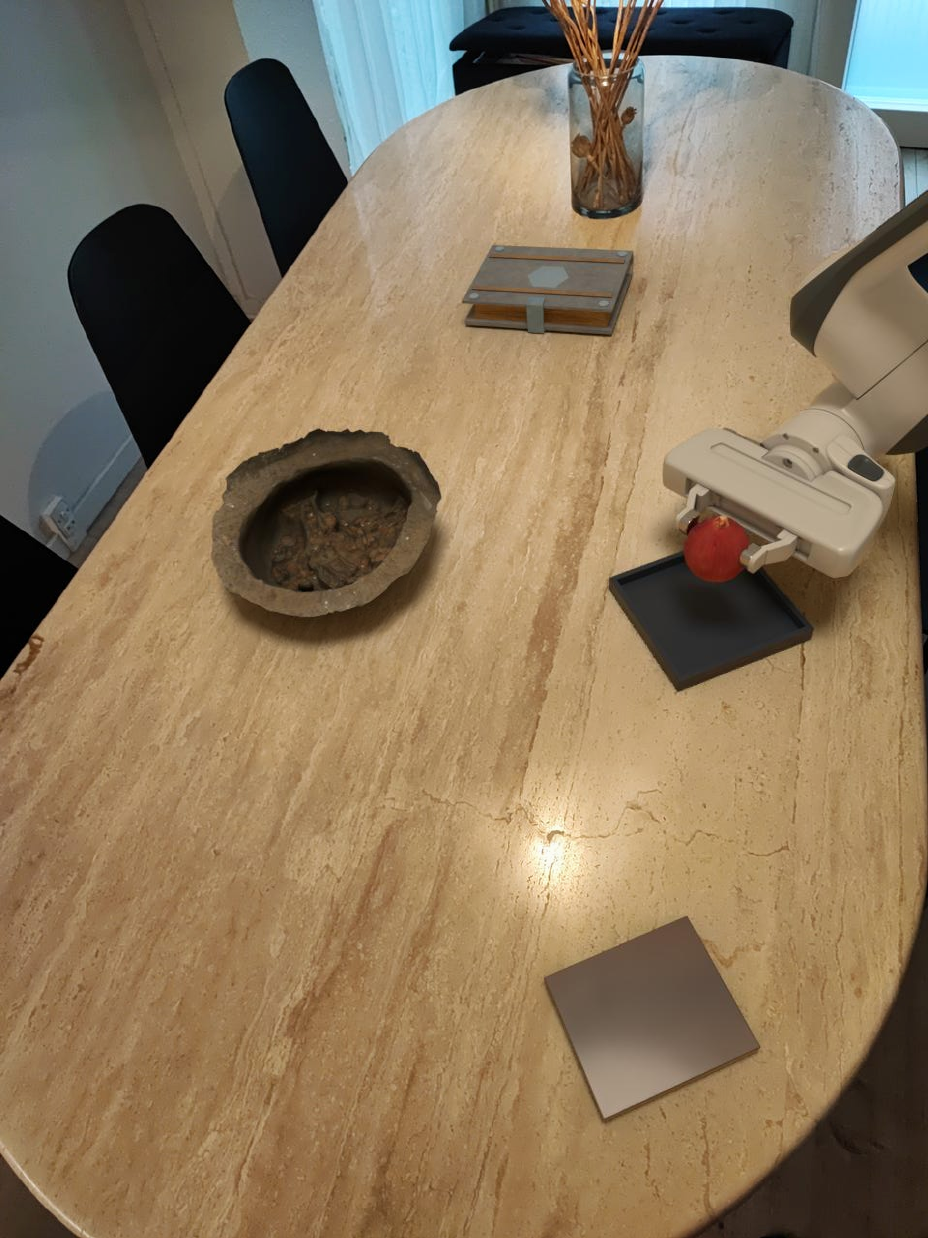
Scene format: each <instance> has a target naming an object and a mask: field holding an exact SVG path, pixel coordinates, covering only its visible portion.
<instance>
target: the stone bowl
mask: <svg viewBox="0 0 928 1238" xmlns="http://www.w3.org/2000/svg"><path fill="white" fill-rule="evenodd" d="M422 457H423V456H421V454H420V452H418V451H416V450H412V449H409V448H408V447H405V446H396V445H395V444H393V443H392V442H391V439H390V435H388V434H387V435H386V434H385V433H384V431H372V430H371V431H367V432H366V431H364V430H362V429H357V430H354V431H351V430H350V429H349V428H345V429H343V430H342V431H339V430H338V431H336V430H327V431H326V430H323V429H321V428H316V429H314V430H313V429H312V430H311V431H308V433H307V434H306V435H305V436H304V437H303V436H301V437H299V438H297V439H296V440H294V441H292V442H289V443H288V442H287V443H283V444H282V446H281V447H275V448H272V449H269V450H266V451H259V452H258V453H257V455H253V456H250V457H249V458H247V459H245V460H243V461H242V462H240V464H238V465H237V466H236V467H235V468H234V470H233V471H231V472H230V473H229V474H227V476H225V481H226V489H225V490H224V491H223V493H222V494H221V498H222V501H223V503H222V505H221V506H220V507H219V509H218V510H216V511H214V513H213V515H212V519H211V521H212V522H211V523H212V527H211V538H212V546H211V553H210V558H211V560H212V565H213V568H215V569H216V573H217V576H218V577H219V578H220V580H221V581H222V586H224V588H225V589H226V591H228V592H230V593H233V594H235V595H239V596H240V598H243V599H245V600H247V601H248V602H250V603H252V604H255V605H258V606H260V607H261V608H263V609H265V610H266V611H269V612H275V613H276V612H277V613H279V614H283V615H287V616H291V617H292V616H293V617H299V618H311V617H312V618H313V617H318V616H324V615H328V613H330V614H332V613H335V612H343V611H346V610H349V609H353V608H356V607H363V606H365V605H366V604H368V603H370V602H372V601H373V600H374V599H376V598H377V597H379V595H381V594H382V593H384V592H385V591H386V590H387V589H388V588H389V586H390V585H391V584H392V583H393V582H395V581H396V580H397V579H399V578H400V577H402V576H404V575H407V574H409V573H410V572H411V570H412V569H413V567H414V566H415V564H416V563H417V561H418V559H419V558H420V555H421V554H422V553H423V550H424V548H425V546H426V545H427V543H428V541H429V538H430V537H431V534H432V529H431V528H432V527H433V524H434V521H435V518H436V514H437V513H438V510H437V507H438V505H439V502H440V501H441V500H442V494H441V490H440V485H439V482H438V481H437V480H436V478H435V477H434V475H433V473H431V470H430V468H429V467H428V465H427V463H426V461H425V460H424V459H423V458H422Z"/></svg>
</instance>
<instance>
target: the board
mask: <svg viewBox="0 0 928 1238" xmlns="http://www.w3.org/2000/svg"><path fill="white" fill-rule="evenodd" d="M700 937H701V936H700V935H699V934H698V932H697V930H696V928H695V926H694V924H693V923H692V921H691V919H690V918H689V916H688V915H685V916H683V917H680V918H677V919H676V920H673V921H671V922H669V923H666V924H664V925H661V926H659V927H657V928H655V929H653V930H651V931H650V930H649V931H648V932H646V933H643V934H641V935H638V936H637V937H634V938H631V939H629V940H627V941H625V942H623V943H620V944H618V945H615V946H613V947H610V948H609V949H607V950H604V951H602V952H600V953H597V954H595V955H592V956H591V957H588V958H586V959H583V960H581V961H579V962H577V963H574V964H572V965H569V966H568V967H565V968H563V969H560V970H558V971H556V972H554V973H551V974H549V975H547V976H544V977H543V981H544V985H545V987H546V989H547V992H548V994H549V996H550V997H549V998H550V999H551V1002H552V1004H553V1006H554V1009H555V1011H556V1014H557V1017H558V1018H559V1021H560V1023H561V1025H562V1029H563V1030H564V1032H565V1035H566V1037H567V1040H568V1042H569V1045H570V1047H571V1049H572V1052H573V1054H574V1056H575V1059H576V1061H577V1063H578V1065H579V1066H578V1067H579V1068H580V1071H581V1073H582V1076H583V1078H584V1080H585V1083H586V1085H587V1087H588V1089H589V1092H590V1094H591V1097H592V1099H593V1101H594V1103H595V1106H596V1110H597V1111H598V1113H599V1116H600V1118H601V1120H602V1122H603V1124H605V1123H607V1122H609V1121H611V1120H614V1119H616V1118H618V1117H620V1116H623V1115H625V1114H627V1113H629V1112H631V1111H633V1110H635V1109H638V1108H640V1107H641V1106H644V1105H646V1104H649V1103H650V1102H652V1101H654V1100H657V1099H659V1098H661V1097H663V1096H665V1095H667V1094H671V1092H674V1091H677V1090H678V1089H680V1088H683V1087H685V1086H687V1085H690V1084H691V1083H693V1082H695V1081H697V1080H700V1079H702V1078H704V1077H706V1076H709V1075H711V1074H713V1073H715V1072H717V1071H719V1070H722V1069H724V1068H726V1067H728V1066H730V1065H732V1064H734V1063H736V1062H739V1061H741V1060H743V1059H745V1058H747V1057H750V1056H752V1055H754V1054H756V1053H758V1052H759V1051H760V1049H761V1044H760V1043H759V1042H758V1040H757V1038H756V1036H755V1034H754V1033H753V1030H752V1029H751V1027H750V1025H749V1024H748V1022H747V1019H746V1018H745V1017H744V1015H743V1013H742V1011H741V1009H740V1007H739V1006H738V1003H737V1002H736V1001H735V999H734V996H733V994H732V993H731V991H730V989H729V987H728V986H727V984H726V983H725V981H724V979H723V977H722V975H721V973H720V972H719V969H718V967H717V966H716V964H715V961H713V959H712V957H711V956H710V953H709V952H708V950H707V948H706V946H705V944H704V943H703V941H702V939H701V938H700Z"/></svg>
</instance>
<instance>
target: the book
mask: <svg viewBox="0 0 928 1238" xmlns="http://www.w3.org/2000/svg"><path fill="white" fill-rule="evenodd" d="M634 253H635V252H634V250H625V249H624V250H622V249H602V248H601V249H600V248H599V249H598V248H575V247H553V246H552V247H551V246H550V247H549V246H548V247H547V246H529V245H528V246H527V245H526V246H525V245H505V244H503V245H501V244H492V245H491V247H490V249H489V251H488V252H487V254H486V256H485V258H484V259H483V262H482V263H481V264H480V267H479V269H478V270H477V273H476V274H475V276H474V277H473V279H472V281H471V283H470V285H469V287H468V289H467V291H466V292H465V294H464V296H463V298H462V300H461V303H462V304H467V305H472V306H471V308H470V309H469V312H468V314H466V317H465V319H464V325H467V326H478V327H479V326H480V327H494V328H495V327H496V328H507V329H508V328H510V329H524V330H525V329H526V330H527V333H529V334H531V333H532V334H542V335H543V334H545V333H546V331H553V332H567V333H570V332H571V333H582V334H597V335H609V336H610V335H612V334H613V331H614V329H615V327H616V323H617V321H618V318H619V314H620V312H621V309H622V306H623V303H624V301H625V297H626V294H627V291H628V289H629V286H630V283H631V280H632V277H633V273H634V264H635V254H634Z"/></svg>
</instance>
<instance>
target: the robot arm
mask: <svg viewBox="0 0 928 1238" xmlns="http://www.w3.org/2000/svg"><path fill="white" fill-rule="evenodd" d="M926 254H928V189H926V190H925V191H923V192H922V193H921V194H919V195H918V196H917V197H915V198H914V199H913V200H912V201H910V202H909V203H907V204H906V205H905V206H903V207H902V208H901V209H899V211H896V213H894V214H893V215H892V216H890V217H889V218H888V219H886V220H885V221H884V222H882V223H881V224H879V225H878V226H877V227H876V228H875V230H873V231H872V232H871V233H869V234H868V235H866V236H865V237H864V238H862V239H861V240H860V241H858V242H855V243H853V244H851V245H849V246H846V247H845V248H843V249H841V250H838V251H837V252H836V253H833V254H832V255H831V256H829V257H827V258H826V259H825V260H823V261H822V262H821V263H820V264H818V265H817V266H816V267H815V268H813V269H812V271H810V273H808V274H807V276H806V277H805V278H804V279H803V280H802V281H801V283H800V284H799V286H798V287H797V288H796V290H795V292H794V294H793V296H791V299H790V305H789V332H790V333H789V334H790V336H791V338H792V339H794V340H795V341H796V342H797V343H799V345H800V346H802V347H803V348H804V349H805V350H806V351H808V352H809V353H810V354H811V355H812V356H813V357H814V358H818V360H819V361H820V362H821V363H822V364H823V365H824V366H825V367H826V368H827V369H828V371H829V372H831V373H832V375H833V376H834V377H835V380H834V381H832V382H831V383H829V384H828V385H827V386H826V387H824V388H823V389H822V390H821V391H820V392H818V393H817V394H816V395H815V396H814V397H813V398H812V400H811V401H810V402H809V405H808V406H807V407H804V408H802V409H799V410H798V411H796V412H795V413H793V414H792V415H790V417H789V418H787V419H786V420H785V421H783V422H782V423H781V424H780V425H778V426H777V427H776V428H775V429H774V430H773V431H771V433H769V434H768V435H767V436H765V438H763V439H762V440H761V441H760V442H759V441H757V440H755V439H753V438H752V437H748V436H744V435H742V434H740V433H738V432H737V431H735V430H734V429H731V428H729V427H723V428H716V427H715V428H714V427H713V428H712V427H706V428H704V429H702V430H701V431H700V432H698V433H696V434H694V435H692V436H691V437H689V438H686V439H685V440H683V441H682V442H681V443H679V444H677V445H676V446H674V447H673V448H672V449H670V450H669V451H668V452H666V454H665V455H664V458H663V461H662V468H661V469H662V471H661V472H662V475H661V477H662V485H663V487H664V488H666V489H668V490H669V491H671V492H673V493H675V494H676V495H678V496H680V497H682V498H684V499H686V500H687V501H686V505H685V508H684V509H682V510H681V511H680V512H679V513H678V514H676V517H675V518H674V523H673V528H674V530H676V531H678V532H679V533H681V534H683V535H685V536H687V535H688V533H689V531H690V530H691V529H692V528H693V527H694V526H695V525H697V524H698V523H699V522H700V521H699V520H700V518H701V513H702V512H703V511H704V510H706V511H708V512H709V513H712V514H713V515H714V516H728V518H731V519H733V520H734V521H736V522H737V523H739V524H740V525H741V526H742V528H743V529H744V530H745V532H746V533H747V534H748V533H749V534H750V535H752V536H754V537H756V538H757V539H760V540H761V541H763V542H765V543H767V544H763V545H761V546H760V545H758V544H756V543H754V542H751V543H750V545H749V546H748V549H745V550H744V551H743V552H742V553H741V555H740V558H739V559H740V562H739V564H738V565H739V566H741V567H742V568H744V569H746V570H747V571H749V572H751V573H755V572H756V571H757V570H758V569H759V568H760V567H761V566H762V567H763V565H765V566H766V565H770V564H774V563H780V562H785V561H787V560H788V559H789V558H791V557H793V558H795V559H797V560H798V561H800V562H801V563H804V564H805V565H807V566H810V567H811V568H813V569H815V570H817V571H818V572H820V573H822V574H824V575H825V576H827V577H830V578H832V579H837V578H844V577H848V576H849V575H851V574H852V573H853V572H854V571H855V570H856V569H857V567H858V566H859V565H860V564H861V562H862V561H863V560H864V558H865V557H866V555H867V554H868V553H869V551H870V549H871V546H872V544H873V541H874V539H875V535H876V533H878V531H879V530H880V529H881V527H882V525H883V523H884V521H885V519H886V517H887V514H888V511H889V509H890V506H891V502H892V500H893V495H894V491H895V485H896V478H895V476H894V475H893V474H892V473H891V472H889V471H888V470H887V469H886V468H884V467H883V466H882V465H881V464H879V463H878V461H880V460H881V459H883V458H884V457H885V456H901V455H908V454H909V455H910V454H914V453H918V452H920V451H921V450H924V449H925V448H927V447H928V292H927V291H926V290H925V289H924V288H923V287H922V286H921V285H920V284H919V283H918V282H917V280H916V279H915V278H914V277H913V275H912V274H911V272H910V270H909V267H908V266H909V265H911V264H912V263H914V262H916V261H917V260H918V259H920V258H921V257H923V256H924V255H926Z"/></svg>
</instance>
